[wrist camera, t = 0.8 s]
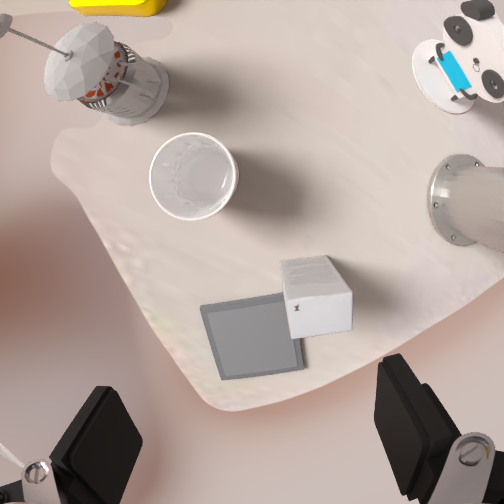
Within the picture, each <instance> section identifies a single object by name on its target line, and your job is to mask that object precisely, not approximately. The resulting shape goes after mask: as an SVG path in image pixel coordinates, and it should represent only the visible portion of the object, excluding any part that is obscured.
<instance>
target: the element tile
mask: <svg viewBox="0 0 504 504" xmlns="http://www.w3.org/2000/svg"><path fill="white" fill-rule="evenodd" d="M166 1H167V0H69V5H70V6H71V7H72V8H74V9H75V10H76V11H78V12H79V13H80V14H82V15H84V16H133V17H150V16H153V15H155V14H156V13H158V12H159V11H160V10H161V9H162V8H163V7H164V5H165V3H166Z"/></svg>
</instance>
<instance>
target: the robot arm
mask: <svg viewBox="0 0 504 504" xmlns="http://www.w3.org/2000/svg"><path fill="white" fill-rule="evenodd" d="M433 204H434V206H433ZM428 209H429V214H430V218H431V221H432V223H433V225H434V227H435V229H436V231H437V232H438V233H439V234H440V236H441V237H442V238H444V239H445V240H446V241H448V242H450V243H452V244H456V245H463V246H465V245H469V244H472V243H474V242H476V241H477V242H480V243H482V244H484V245H487V246H489V247H491V248H494V249H496V250H498V251H501V252H503V253H504V168H500V167H485V166H484V165H483V164H482V163H481V162H480V161H479V160H478V159H476V158H475V157H473V156H470V155H465V154H458V155H453V156H450V157H448V158H446V159H445V160H443V161H442V162H441V163H440V165H439V166H438V167H437V169H436V170H435V172H434V174H433V176H432V178H431V181H430V185H429V189H428ZM374 421H375V425H376V428H377V430H378V433H379V436H380V438H381V441H382V443H383V446H384V449H385V451H386V454H387V457H388V459H389V462H390V465H391V468H392V470H393V473H394V476H395V479H396V481H397V484H398V487H399V490H400V493H401V494H402V495H403V496H404V495H407V497H408V500H409V501H411V500H414V499H416V498H418V500H419V503H420V504H504V452H501V451H496V450H495V445H494V443H493V441H492V440H491V438H490V437H488V436H487V435H485V434H482V433H477V432H475V433H474V432H471V433H467V434H464V435H461V433H460V431H459V430H458V428H457V427H456V425H455V424H454V422H453V420H452V419H451V417H450V416H449V414H448V413H447V411H446V410H445V408H444V407H443V405H442V404H441V402H440V401H439V399H438V398H437V396H436V395H435V393H434V392H433V390H432V389H431V387H430V386H429V385H428V384H426V383H424V384H420V382H419V380H418V379H417V377H416V376H415V374H414V373H413V372H412V370H411V369H410V367H409V365H408V364H407V363H406V361H405V360H404V359H403V357H402V355H401V354H399V353H398V354H395V355H391V356H387V357H384V358H383V362H380V363H379V364H378V375H377V388H376V401H375V411H374ZM142 443H143V441H142V437H141V435H140V433H139V432H138V430H137V428H136V426H135V425H134V423H133V421H132V420H131V417H130V416H129V414H128V412H127V410H126V408H125V406H124V404H123V403H122V400H121V398H120V396H119V395H118V393H117V391H115V390H114V389H113V388H112V387H110V386H96V387H95V389H94V390H93V392H92V393H91V394H90V396H89V397H88V399H87V400H86V402H85V403H84V405H83V406H82V408H81V409H80V410H79V412H78V414H77V415H76V416H75V418H74V419H73V421H72V422H71V424H70V426H69V427H68V429H67V430H66V432H65V433H64V434H63V436H62V438H61V439H60V441H59V442H58V444H57V445H56V447H55V448H54V450H53V451H52V453H51V455H50V456H49V458H50V459H51V460H52V463H51V464H50V463H49V462H48V461H46V460H43V459H37V460H33V461H31V462H29V463H28V464H27V465H26V466H25V467H24V468H23V471H22V476H21V478H22V480H19V481H16V482H13V483H10V484H8V485H4V486H1V487H0V504H119V503H120V501H121V499H122V495H123V493H124V490H125V488H126V485H127V482H128V480H129V477H130V475H131V472H132V470H133V467H134V465H135V462H136V460H137V457H138V455H139V452H140V450H141V447H142Z"/></svg>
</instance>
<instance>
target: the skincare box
mask: <svg viewBox="0 0 504 504" xmlns="http://www.w3.org/2000/svg"><path fill="white" fill-rule="evenodd" d="M280 269H281V279H282V287H283V294H284V300H285V306H286V312H287V317H288V323H289V329H290V335H291V339H298V338H305V337H313V336H319V335H326V334H332V333H338V332H345V331H351V330H352V323H353V291H352V290H351V289H350V287H349V286H348V285H347V283H346V282H345V280H344V279H343V278H342V276H341V275H340V273H339V272H338V271H337V269H336V268H335V266H334V265H333V264H332V262H331V261H330V260H329V258H328V257H327V256H326V255H325V256H317V257H308V258H300V259H292V260H282V261H280Z"/></svg>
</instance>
